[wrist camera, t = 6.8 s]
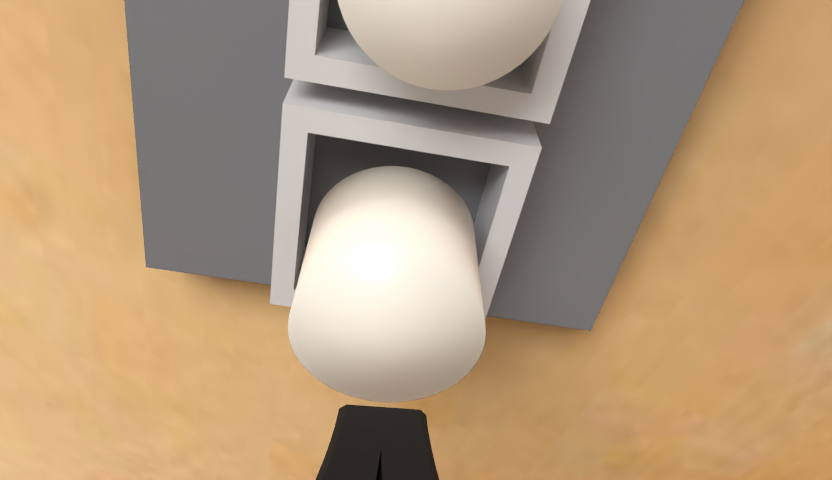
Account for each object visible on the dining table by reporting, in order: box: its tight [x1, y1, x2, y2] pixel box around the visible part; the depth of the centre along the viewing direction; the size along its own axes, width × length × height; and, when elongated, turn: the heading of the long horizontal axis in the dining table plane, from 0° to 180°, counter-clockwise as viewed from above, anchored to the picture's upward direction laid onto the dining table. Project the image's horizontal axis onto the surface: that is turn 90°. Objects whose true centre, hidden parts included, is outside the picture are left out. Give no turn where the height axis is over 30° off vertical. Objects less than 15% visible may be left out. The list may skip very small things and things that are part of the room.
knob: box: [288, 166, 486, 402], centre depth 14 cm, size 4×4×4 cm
